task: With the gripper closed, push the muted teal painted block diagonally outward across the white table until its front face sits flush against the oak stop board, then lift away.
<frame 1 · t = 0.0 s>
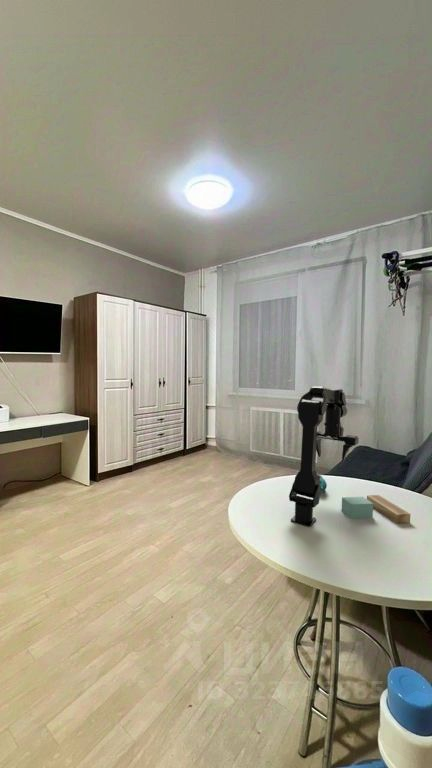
hand: (331, 458, 128), 15 cm above the table, tool pointing down, fingers open, 9 cm apart
board: (386, 512, 114), on the table
toy: (316, 490, 134), on the table
block: (356, 514, 112), on the table
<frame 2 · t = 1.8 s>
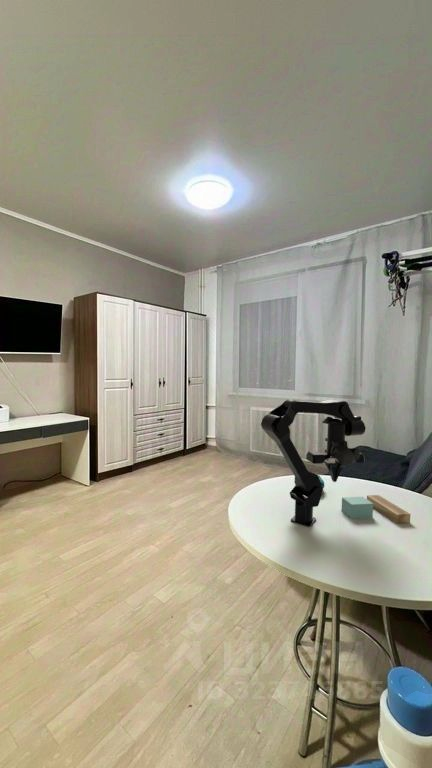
hand: (334, 481, 110), 12 cm above the table, tool pointing down, fingers closed
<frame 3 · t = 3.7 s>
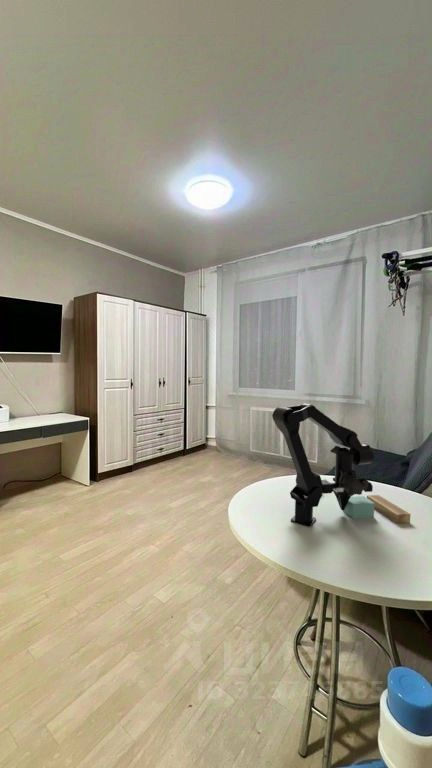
hand: (342, 509, 111), 2 cm above the table, tool pointing down, fingers closed
block: (357, 514, 112), on the table, touching gripper
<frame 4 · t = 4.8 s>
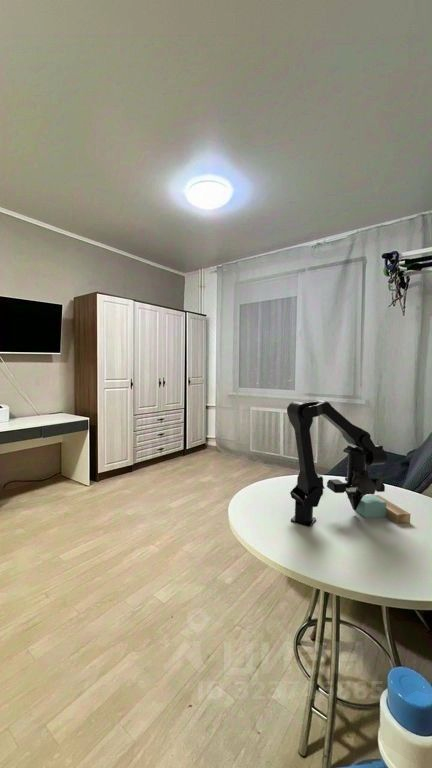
hand: (354, 509, 112), 2 cm above the table, tool pointing down, fingers closed
block: (369, 513, 113), on the table, touching board, gripper
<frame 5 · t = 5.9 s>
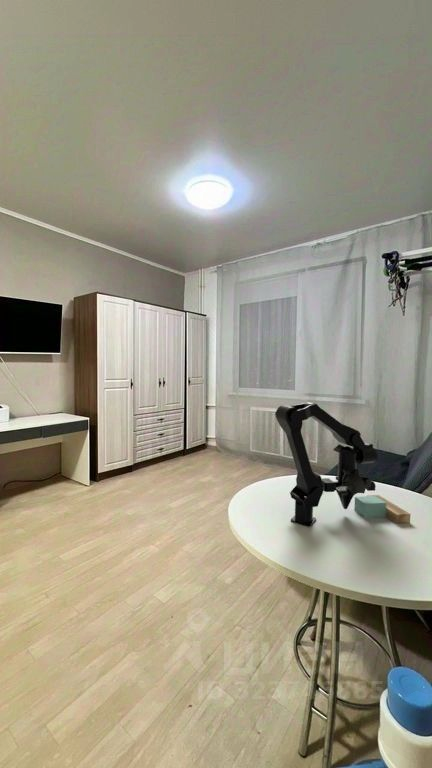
hand: (345, 508, 111), 2 cm above the table, tool pointing down, fingers closed
block: (369, 513, 113), on the table
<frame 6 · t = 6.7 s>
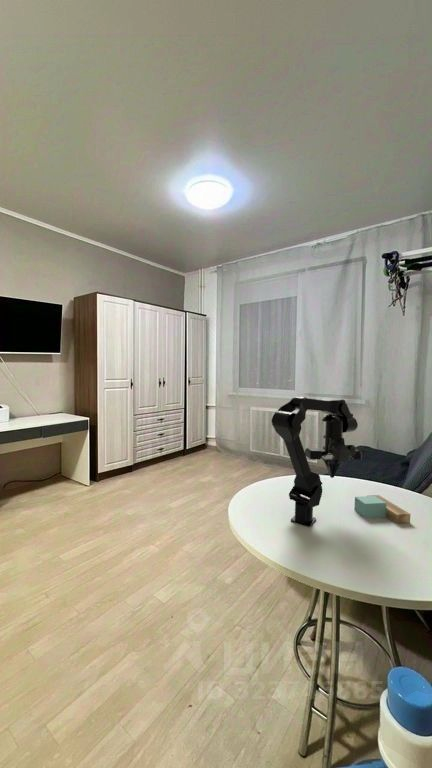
hand: (331, 477, 114), 12 cm above the table, tool pointing down, fingers closed
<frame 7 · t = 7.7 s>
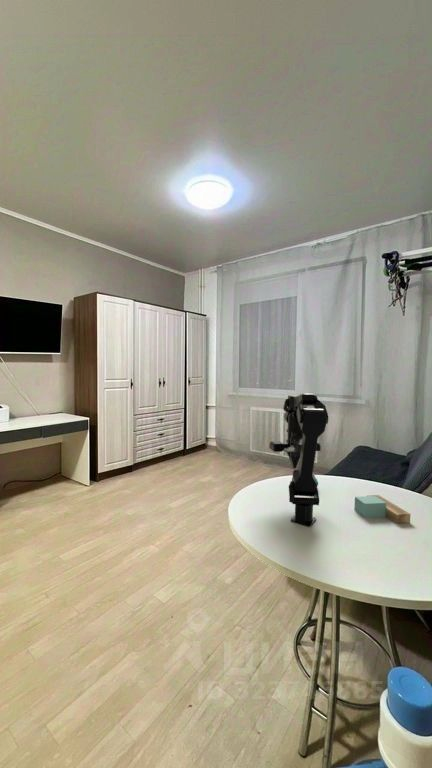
hand: (294, 468, 123), 12 cm above the table, tool pointing down, fingers closed
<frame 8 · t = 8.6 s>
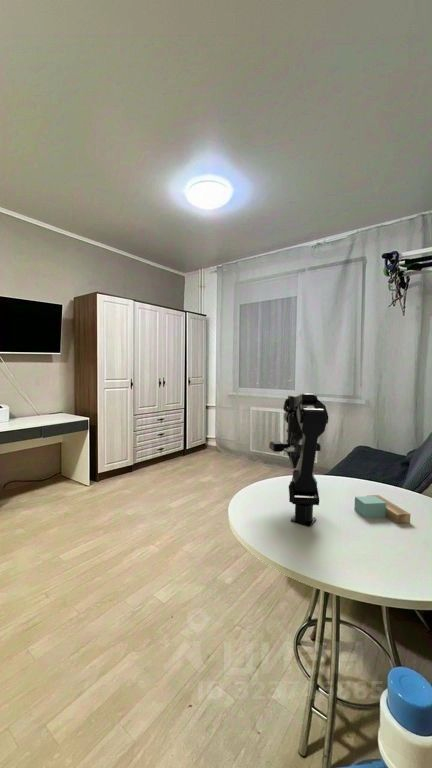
hand: (294, 468, 123), 12 cm above the table, tool pointing down, fingers closed
at the end: block 0.2 cm from the target spot on the table beside the board, on the table; block 6.6 cm from the board (horizontally); block tilted 0° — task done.
